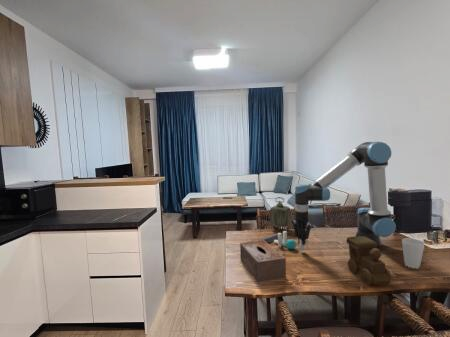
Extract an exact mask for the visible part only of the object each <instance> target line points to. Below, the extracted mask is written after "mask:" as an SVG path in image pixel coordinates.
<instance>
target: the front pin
mask: <svg viewBox="0 0 450 337" xmlns="http://www.w3.org/2000/svg"><path fill="white" fill-rule="evenodd" d="M273 244H276V245H278V239H276V240H274V241H273ZM282 247H284V248H287V246H286V243H284V242H283V241H282Z"/></svg>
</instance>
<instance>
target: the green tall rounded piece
mask: <svg viewBox="0 0 450 337" xmlns="http://www.w3.org/2000/svg"><path fill="white" fill-rule="evenodd" d="M277 199H282V200H283V201H281V200H279V201H278V200H277ZM275 202H276V205H273V206H271V207H270V208H269V213H268V214H269V221H270V222H269V223H270V224H271V225H272V226H273V228H276V227H278V228H277V231H280V230H281V228H280V227H285V228H286V229H287V230H289V229H290V228H289V227H288V226H289V224H290V223H291V222H292V220H291V219H292V213H291V208H290V207H289V206H287V205H284V204H283V203H284V202H285V199H284V198H283V197H281V196H280V197H279V196H278V197H275Z"/></svg>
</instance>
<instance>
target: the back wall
mask: <svg viewBox="0 0 450 337" xmlns="http://www.w3.org/2000/svg"><path fill="white" fill-rule="evenodd" d="M278 233H279V232H277V233H274V234H272V235H268V236H266V237H263V238H261V239H258V240H257V241H260V240H265V241H266V242H267V243H268V244H269V243H270V242H274V240H278Z"/></svg>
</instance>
